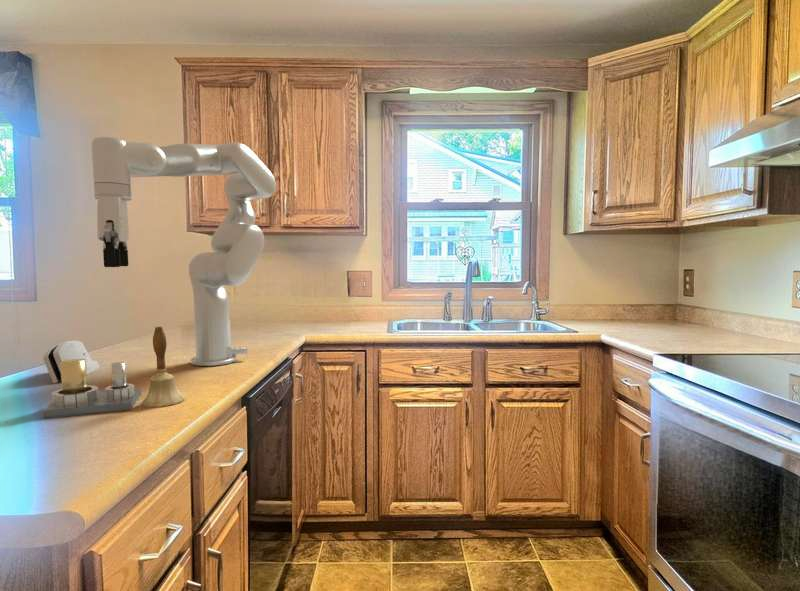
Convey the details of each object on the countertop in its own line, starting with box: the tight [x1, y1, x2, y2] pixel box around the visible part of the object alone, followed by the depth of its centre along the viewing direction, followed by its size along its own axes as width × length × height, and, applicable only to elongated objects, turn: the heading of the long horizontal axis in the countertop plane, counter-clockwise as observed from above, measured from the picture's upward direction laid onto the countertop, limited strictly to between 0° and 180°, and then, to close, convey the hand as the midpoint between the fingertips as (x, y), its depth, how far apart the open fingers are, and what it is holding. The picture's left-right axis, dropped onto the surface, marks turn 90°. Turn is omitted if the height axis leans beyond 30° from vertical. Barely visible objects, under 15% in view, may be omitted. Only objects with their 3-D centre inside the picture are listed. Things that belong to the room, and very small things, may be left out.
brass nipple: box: [60, 359, 89, 394], centre depth 102 cm, size 4×4×8 cm
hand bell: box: [141, 326, 186, 408], centre depth 105 cm, size 8×8×16 cm
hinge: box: [42, 340, 100, 384], centre depth 130 cm, size 17×5×10 cm, turn 12°
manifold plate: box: [42, 361, 142, 419], centre depth 103 cm, size 15×12×8 cm
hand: (116, 266), depth 118 cm, fingers open, 9 cm apart
